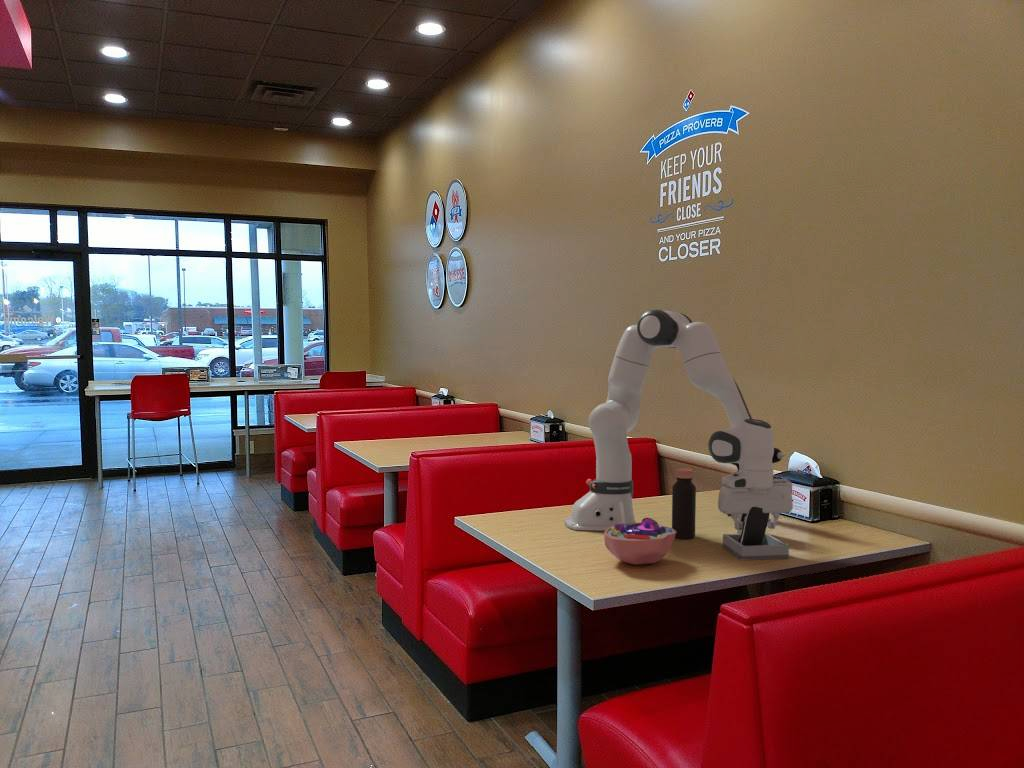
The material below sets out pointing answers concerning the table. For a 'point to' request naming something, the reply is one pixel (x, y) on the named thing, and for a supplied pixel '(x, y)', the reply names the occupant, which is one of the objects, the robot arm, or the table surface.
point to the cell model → (639, 541)
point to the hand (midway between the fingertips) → (754, 528)
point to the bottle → (684, 504)
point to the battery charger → (753, 527)
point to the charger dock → (756, 548)
